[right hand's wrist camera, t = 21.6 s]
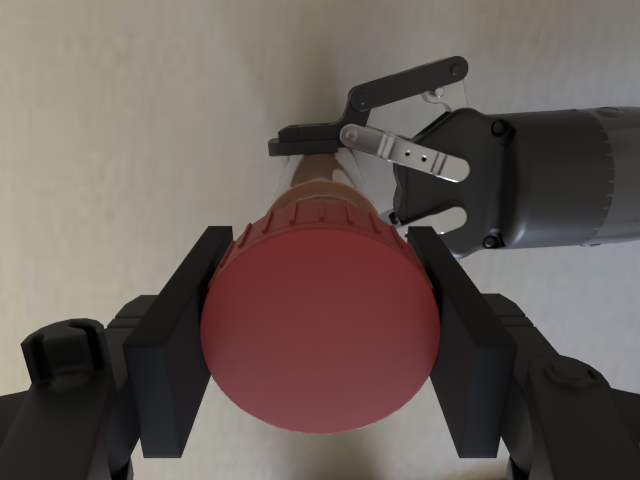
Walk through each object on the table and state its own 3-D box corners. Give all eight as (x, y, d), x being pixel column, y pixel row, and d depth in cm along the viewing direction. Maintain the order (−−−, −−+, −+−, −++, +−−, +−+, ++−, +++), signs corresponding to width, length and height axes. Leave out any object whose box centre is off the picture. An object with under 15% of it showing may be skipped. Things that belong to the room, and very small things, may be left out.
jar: (285, 136, 30) (249, 192, 15) (356, 135, 30) (393, 190, 15) (288, 205, 32) (259, 318, 17) (356, 204, 32) (387, 316, 17)
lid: (402, 392, 13) (416, 447, 11) (212, 372, 13) (193, 425, 11) (445, 212, 11) (472, 241, 9) (220, 185, 11) (199, 208, 9)
